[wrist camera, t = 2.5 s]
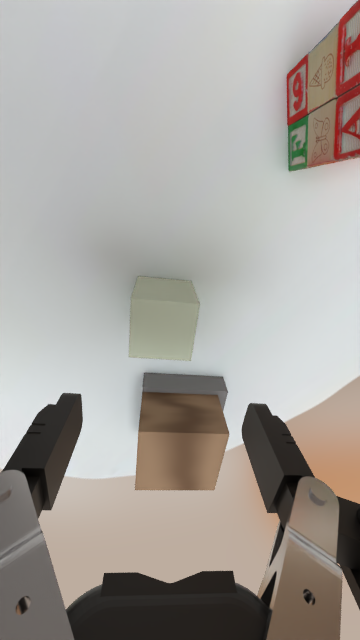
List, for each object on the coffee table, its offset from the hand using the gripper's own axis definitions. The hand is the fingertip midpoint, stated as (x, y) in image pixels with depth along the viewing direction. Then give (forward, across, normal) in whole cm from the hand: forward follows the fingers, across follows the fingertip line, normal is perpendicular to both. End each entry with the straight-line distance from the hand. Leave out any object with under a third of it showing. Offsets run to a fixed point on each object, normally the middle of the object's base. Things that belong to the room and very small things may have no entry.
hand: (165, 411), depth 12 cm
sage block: (+14, 0, 0) cm, 14 cm away
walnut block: (+12, -2, +13) cm, 17 cm away
